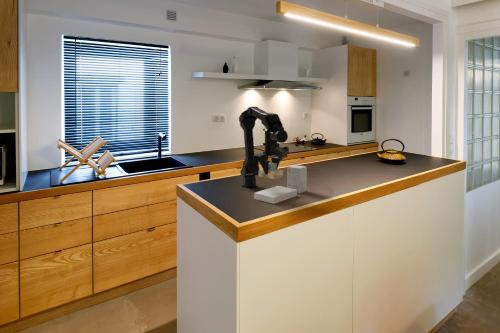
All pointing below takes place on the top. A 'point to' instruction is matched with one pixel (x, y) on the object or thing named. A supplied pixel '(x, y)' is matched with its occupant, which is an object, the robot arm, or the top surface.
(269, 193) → the block
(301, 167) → the small box
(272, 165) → the crate
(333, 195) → the top surface
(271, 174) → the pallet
